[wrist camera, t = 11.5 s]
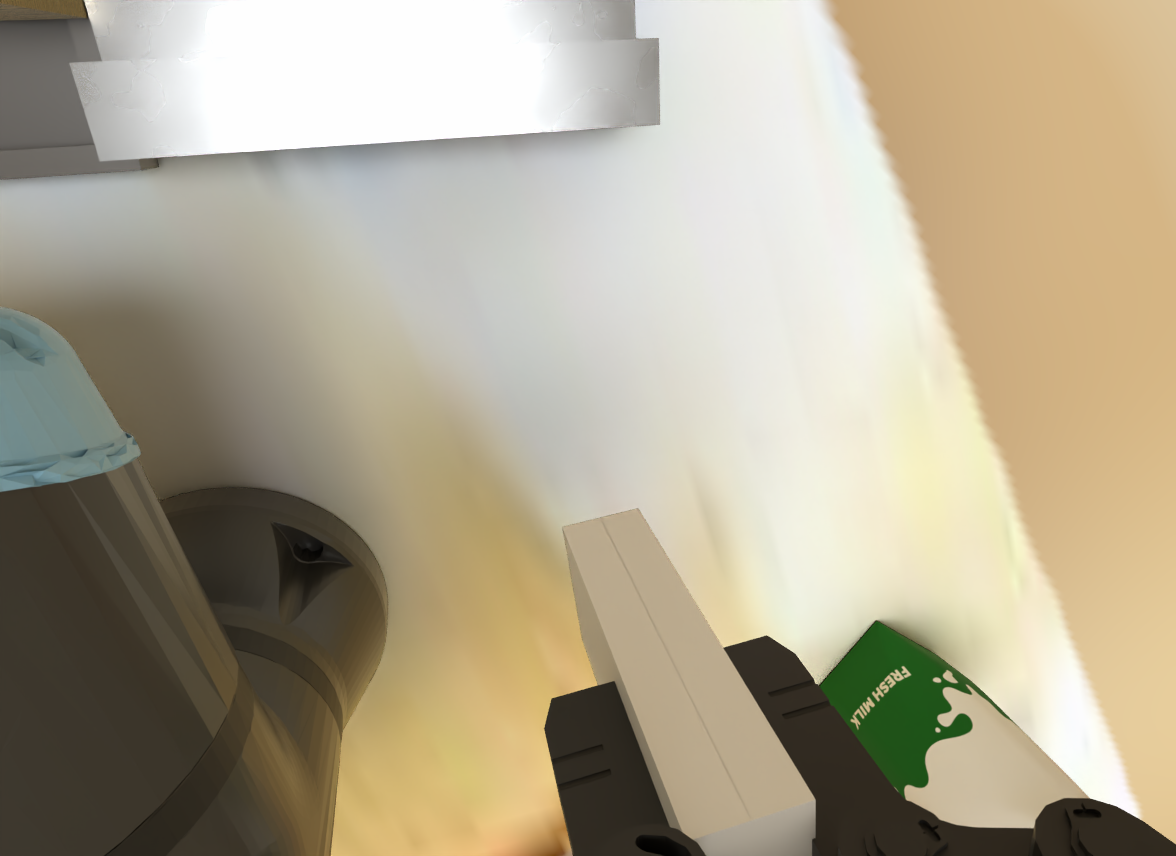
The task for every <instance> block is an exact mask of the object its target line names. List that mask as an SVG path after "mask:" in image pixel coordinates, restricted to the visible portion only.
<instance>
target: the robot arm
mask: <svg viewBox="0 0 1176 856" xmlns="http://www.w3.org/2000/svg"><path fill="white" fill-rule="evenodd" d="M140 454H141V452H140V449H139V446H138V444H137V442H136V441H135V439H134V437H133V435H131V434H129V433H127V432H125V431H123V430H122V429H121V428H120V426H119V424H118V423H117V421H116V419H115V418H114V416H113V414H112V413H111V411H110V409H109V408H108V406H107V404H106V403H105V401H104V399H103V398H102V396H101V394H100V393H99V391H98V389H97V388H96V386H95V384H94V383H93V381H92V379H91V378H90V376H89V374H88V373H87V371H86V369H85V368H84V366H83V364H82V363H81V361H80V359H79V358H78V356H77V354H76V352H75V351H74V349H73V348H72V347H71V345H70V344H69V343H68V342H67V340H66V339H64V338H63V337H62V336H61V335H60V334H59V333H58V332H57V331H56V330H55V329H53V328H52V327H51V326H49V325H48V324H46V323H45V322H43V321H41V320H39V319H37V318H35V317H33V316H31V315H28V314H26V313H23V312H20V311H17V310H13V309H9V308H5V307H0V856H331V845H332V835H333V825H334V814H335V804H336V794H337V783H338V773H339V763H340V752H341V740H342V732H343V729H344V727H345V726H346V724H347V722H348V720H349V719H350V717H351V715H352V713H353V712H354V710H355V708H356V706H357V704H358V703H359V701H360V699H361V697H362V695H363V693H364V692H365V690H366V688H367V686H368V684H369V683H370V681H371V679H372V677H373V676H374V674H375V672H376V670H377V668H378V665H379V663H380V660H381V657H382V654H383V650H384V646H385V642H386V634H387V616H388V597H387V590H386V585H385V581H384V577H383V575H382V572H381V569H380V567H379V565H378V563H377V561H376V559H375V557H374V556H373V554H372V553H371V551H370V550H369V548H368V547H367V546H366V544H365V543H364V542H363V541H362V539H361V538H360V537H359V536H358V535H357V534H356V533H355V532H354V531H353V530H351V529H350V528H349V527H348V526H347V525H346V524H344V523H343V522H342V521H340V520H339V519H338V518H336V517H335V516H333V515H332V514H330V513H328V512H327V511H325V510H323V509H321V508H319V507H317V506H315V505H313V504H311V503H309V502H306V501H304V500H301V499H298V498H295V497H292V496H289V495H285V494H282V493H278V492H273V491H268V490H261V489H253V488H214V489H205V490H199V491H194V492H189V493H185V494H181V495H178V496H175V497H171V498H168V499H166V500H163V501H161V502H159V501H158V499H157V497H156V495H155V493H154V491H153V489H152V487H151V485H150V483H149V481H148V479H147V477H146V475H145V473H144V471H143V469H142V466H141V464H140V462H139V460H138V458H137V457H139V456H140ZM562 528H563V534H564V540H565V545H566V551H567V557H568V562H569V568H570V574H571V579H572V585H573V591H574V596H575V602H576V608H577V613H578V619H579V625H580V630H581V636H582V640H583V643H584V646H585V649H586V652H587V655H588V658H589V661H590V664H591V666H592V669H593V672H594V675H595V678H596V681H597V684H598V686H594V687H591V688H587V689H584V690H580V691H577V692H573V693H570V694H566V695H563V696H559V697H556V698H552V699H551V703H550V707H549V712H548V716H547V720H546V724H545V728H544V729H545V734H546V738H547V743H548V747H549V752H550V757H551V761H552V766H553V770H554V775H555V779H556V784H557V788H558V793H559V797H560V802H561V806H562V810H563V815H564V819H565V823H566V828H567V832H568V836H569V841H570V845H571V849H572V854H573V856H1176V844H1174V843H1173V842H1172V841H1170V840H1169V839H1167V838H1166V837H1164V836H1163V835H1162V834H1160V833H1159V832H1157V831H1156V830H1155V829H1153V828H1152V827H1150V826H1149V825H1148V824H1146V823H1145V822H1143V821H1142V820H1140V819H1138V818H1136V817H1134V816H1133V815H1131V814H1129V813H1127V812H1125V811H1124V810H1122V809H1120V808H1118V807H1117V806H1113V805H1110V804H1107V803H1103V802H1100V801H1096V800H1093V799H1090V798H1063V799H1060V800H1058V801H1055V802H1053V803H1050V804H1048V805H1046V806H1045V807H1044V808H1043V810H1042V811H1041V813H1040V814H1039V816H1038V817H1037V818H1036V820H1035V825H1034V828H988V827H970V826H961V825H955V824H952V823H949V822H946V821H942V820H940V819H939V818H938V817H937V816H936V815H935V814H934V813H932V812H930V811H928V810H926V809H924V808H922V807H921V806H919V805H917V804H915V803H913V802H911V801H907V800H906V799H905V798H903V797H902V795H901V794H900V793H899V792H898V791H897V790H896V789H895V788H894V787H893V786H892V784H891V783H890V782H889V780H888V779H887V778H886V776H885V775H884V774H883V772H882V771H881V769H880V768H879V767H878V765H877V764H876V763H875V761H874V760H873V759H872V757H871V756H870V755H869V753H868V752H867V750H866V749H865V748H864V746H863V745H862V744H861V742H860V741H859V740H858V738H857V737H856V736H855V734H854V733H853V732H852V730H851V729H850V727H849V726H848V725H847V723H846V722H845V721H844V719H843V718H842V717H841V715H840V714H839V713H838V711H837V710H836V708H835V707H834V706H831V704H830V702H829V699H828V698H827V696H826V695H825V694H824V692H823V691H822V689H821V688H820V687H819V685H818V684H815V682H814V679H813V677H812V676H811V675H810V673H809V672H808V671H807V669H806V668H805V666H804V665H803V664H802V662H801V661H800V660H799V658H798V657H797V656H796V654H795V653H793V652H792V651H790V650H789V649H787V648H786V647H784V646H782V645H781V644H779V643H778V642H776V641H775V640H773V639H772V638H770V637H769V636H763V637H760V638H756V639H753V640H749V641H746V642H742V643H739V644H735V645H732V646H728V647H725V648H723V647H722V645H721V643H720V642H719V640H718V639H717V637H716V635H715V634H714V632H713V630H712V629H711V627H710V625H709V624H708V622H707V620H706V619H705V617H704V616H703V614H702V612H701V611H700V609H699V607H698V606H697V604H696V602H695V601H694V599H693V598H692V596H691V594H690V593H689V591H688V589H687V588H686V586H685V584H684V583H683V581H682V579H681V578H680V576H679V575H678V573H677V571H676V570H675V568H674V566H673V565H672V563H671V561H670V560H669V558H668V556H667V555H666V553H665V552H664V550H663V548H662V547H661V545H660V543H659V542H658V540H657V538H656V537H655V535H654V533H653V532H652V530H651V529H650V527H649V525H648V524H647V522H646V520H645V519H644V517H643V515H642V514H641V512H640V510H639V509H638V508H637V509H633V510H629V511H625V512H621V513H617V514H613V515H609V516H605V517H601V518H597V519H593V520H589V521H584V522H580V523H576V524H572V525H568V526H564V527H562Z"/></svg>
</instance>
